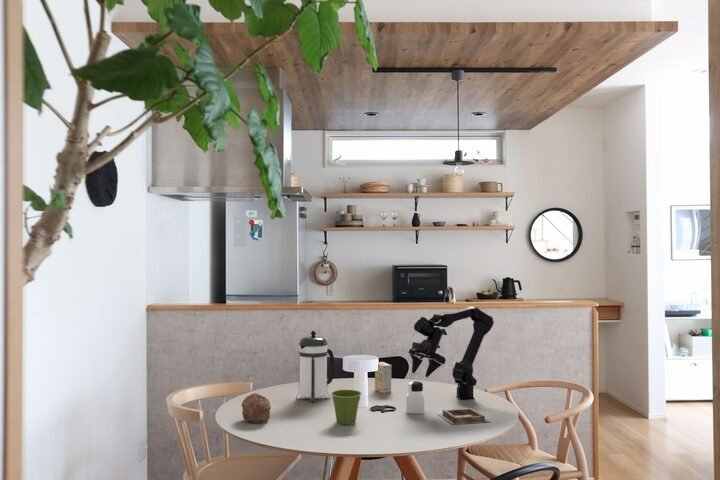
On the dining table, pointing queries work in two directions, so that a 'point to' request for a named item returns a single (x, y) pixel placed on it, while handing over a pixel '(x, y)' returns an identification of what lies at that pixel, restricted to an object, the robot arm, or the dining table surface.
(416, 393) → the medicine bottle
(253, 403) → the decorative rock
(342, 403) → the plant pot
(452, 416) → the walnut dock
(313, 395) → the coffee press
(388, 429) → the dining table surface
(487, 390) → the dining table surface
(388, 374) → the supplement box
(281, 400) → the dining table surface
